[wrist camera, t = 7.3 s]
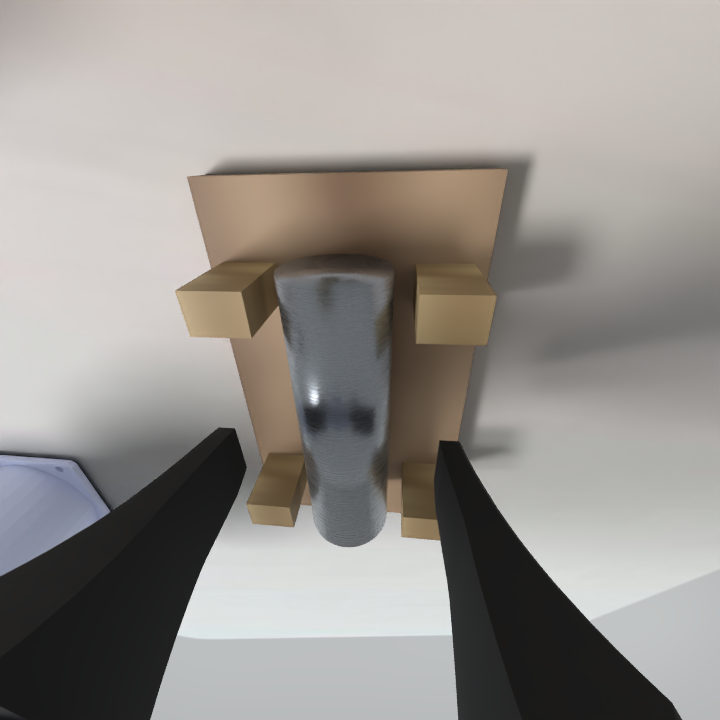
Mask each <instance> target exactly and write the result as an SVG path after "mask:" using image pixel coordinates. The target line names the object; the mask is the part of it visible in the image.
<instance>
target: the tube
mask: <svg viewBox="0 0 720 720" xmlns="http://www.w3.org/2000/svg"><path fill="white" fill-rule="evenodd" d="M274 280H275V286H276V292H277V298H278V304H279V310H280V316H281V322H282V328H283V334H284V340H285V346H286V353H287V359H288V365H289V371H290V377H291V383H292V389H293V395H294V401H295V407H296V413H297V419H298V425H299V431H300V437H301V443H302V449H303V455H304V462H305V468H306V474H307V480H308V486H309V492H310V498H311V504H312V510H313V516H314V522H315V525H316V527H317V530H318V531H319V533H320V534H321V535H322V536H323V537H324V538H325V539H326V540H327V541H329V542H330V543H333V544H335V545H338V546H342V547H356V546H360V545H363V544H365V543H367V542H369V541H371V540H372V539H373V538H375V537H376V536H377V535H378V534H379V532H380V531H381V530H382V528H383V526H384V524H385V521H386V515H387V489H388V457H389V426H390V394H391V362H392V331H393V299H394V266H393V265H392V264H391V263H390V262H388V261H386V260H384V259H381V258H377V257H373V256H368V255H359V254H326V255H316V256H310V257H305V258H300V259H296V260H293V261H290V262H287V263H285V264H283V265H281V266H279V267H278V268H277V269H276V270H275V271H274Z"/></svg>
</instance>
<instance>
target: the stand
mask: <svg viewBox="0 0 720 720" xmlns="http://www.w3.org/2000/svg"><path fill="white" fill-rule="evenodd" d="M507 172H508V169H501V168H492V169H449V170H405V171H362V172H319V173H276V174H232V175H200V176H190V177H187V178H188V182H189V186H190V190H191V194H192V197H193V201H194V205H195V209H196V213H197V216H198V220H199V224H200V228H201V232H202V235H203V239H204V243H205V247H206V251H207V254H208V258H209V262H210V266H211V269H210V270H209V271H207V272H205V273H204V274H202V275H200V276H199V277H197V278H196V279H194V280H192V281H191V282H189V283H187V284H186V285H184V286H182V287H181V288H179V289H177V290H176V291H175V292H176V295H177V298H178V301H179V304H180V307H181V310H182V313H183V316H184V319H185V322H186V325H187V328H188V331H189V334H190V337H215V338H230V341H231V345H232V349H233V353H234V357H235V360H236V364H237V368H238V372H239V376H240V379H241V383H242V387H243V391H244V395H245V398H246V402H247V406H248V410H249V414H250V417H251V421H252V425H253V429H254V432H255V436H256V440H257V444H258V448H259V451H260V455H261V459H262V463H263V467H262V470H261V472H260V474H259V477H258V479H257V481H256V483H255V486H254V488H253V490H252V492H251V495H250V497H249V499H248V501H247V504H246V505H247V508H248V511H249V514H250V517H251V520H252V523H253V524H263V525H274V526H285V527H294V525H295V522H296V518H297V515H298V511H299V508H300V505H312V504H311V498H310V492H309V486H308V480H307V474H306V468H305V462H304V455H303V449H302V443H301V437H300V431H299V425H298V419H297V413H296V407H295V401H294V395H293V389H292V383H291V377H290V371H289V365H288V359H287V353H286V346H285V340H284V334H283V328H282V322H281V316H280V310H279V304H278V298H277V292H276V286H275V280H274V271H275V270H276V269H277V268H278V267H279V266H281V265H283V264H285V263H287V262H290V261H293V260H296V259H300V258H305V257H310V256H316V255H326V254H359V255H368V256H373V257H377V258H381V259H384V260H386V261H388V262H390V263H391V264H392V265H393V266H394V299H393V331H392V362H391V394H390V426H389V457H388V489H387V512H397V513H401V537H408V538H419V539H430V540H440V535H439V529H438V522H437V516H436V509H435V494H434V475H435V468H436V461H437V454H438V447H439V441H440V440H444V441H458V437H459V431H460V426H461V420H462V415H463V410H464V404H465V399H466V393H467V388H468V383H469V377H470V372H471V366H472V361H473V356H474V350H475V345H481V346H487V342H488V337H489V333H490V328H491V323H492V318H493V313H494V308H495V304H496V299H497V295H496V293H495V292H494V290H493V289H492V287H491V286H490V284H489V283H488V282H487V280H488V275H489V269H490V264H491V259H492V253H493V248H494V242H495V237H496V232H497V226H498V221H499V215H500V210H501V205H502V199H503V194H504V188H505V183H506V178H507Z"/></svg>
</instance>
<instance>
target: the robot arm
mask: <svg viewBox="0 0 720 720" xmlns="http://www.w3.org/2000/svg"><path fill="white" fill-rule="evenodd" d="M246 468H247V467H246V463H245V460H244V457H243V454H242V450H241V447H240V444H239V440H238V437H237V434H236V430H235V429H234V428H218V429H217V430H215V431H214V432H213V433H212V434H210V435H209V436H208V437H207V438H205V439H204V440H203V441H202V442H201V443H200V444H198V445H197V446H196V447H195V448H194V449H192V450H191V451H190V452H189V453H188V454H186V455H185V456H184V457H183V458H182V459H180V460H179V461H178V462H177V463H175V464H174V465H173V466H172V467H171V468H169V469H168V470H167V471H166V472H164V473H163V474H162V475H161V476H159V477H158V478H157V479H155V480H154V481H153V482H151V483H150V484H149V485H147V486H146V487H145V488H143V489H142V490H141V491H140V492H138V493H137V494H136V495H134V496H133V497H131V498H130V499H129V500H127V501H126V502H124V503H123V504H122V505H120V506H119V507H117V508H116V509H114V510H113V511H111V512H110V510H109V509H108V507H107V506H106V505H105V503H104V502H103V500H102V499H101V497H100V496H99V495H98V493H97V492H96V490H95V489H94V487H93V486H92V485H91V483H90V482H89V480H88V479H87V477H86V476H85V475H84V473H83V472H82V470H81V469H80V467H79V466H78V465H77V464H76V463H75V462H73V461H71V460H61V459H48V458H34V457H21V456H7V455H0V720H150V718H151V715H152V712H153V708H154V705H155V701H156V698H157V695H158V692H159V688H160V685H161V682H162V678H163V675H164V672H165V669H166V666H167V663H168V660H169V657H170V654H171V651H172V648H173V645H174V642H175V639H176V636H177V633H178V630H179V628H180V625H181V622H182V619H183V617H184V614H185V611H186V608H187V605H188V603H189V600H190V597H191V595H192V592H193V590H194V587H195V584H196V582H197V579H198V577H199V574H200V572H201V569H202V567H203V565H204V563H205V560H206V558H207V556H208V554H209V552H210V550H211V548H212V546H213V544H214V542H215V540H216V538H217V536H218V534H219V532H220V530H221V528H222V526H223V524H224V522H225V520H226V518H227V515H228V513H229V511H230V509H231V507H232V505H233V503H234V501H235V499H236V497H237V494H238V492H239V489H240V486H241V483H242V480H243V477H244V474H245V471H246ZM434 494H435V509H436V516H437V522H438V529H439V535H440V541H441V547H442V553H443V559H444V565H445V571H446V577H447V583H448V591H449V598H450V610H451V622H452V635H453V648H454V661H455V675H456V690H457V706H458V720H682V719H681V717H680V715H679V714H678V712H677V710H676V709H675V707H674V705H673V704H672V702H671V701H670V700H669V699H668V698H667V697H665V696H664V695H663V694H662V693H661V692H660V691H659V690H658V689H657V688H656V687H655V686H654V685H653V684H652V683H651V682H650V681H649V680H648V679H646V678H645V677H644V676H643V675H642V674H641V673H640V672H639V671H638V670H637V669H636V668H635V667H634V666H633V665H632V664H631V663H630V662H629V661H628V660H627V659H626V658H625V657H624V656H623V655H622V654H621V653H620V652H619V651H618V650H617V649H616V648H615V647H614V646H613V645H612V644H611V643H610V642H609V641H608V640H607V639H606V638H605V637H604V636H603V635H602V634H601V633H600V632H599V631H598V630H597V629H596V628H595V627H594V626H593V625H592V624H591V623H590V621H589V620H588V619H587V618H586V617H585V616H584V615H583V614H582V613H581V612H580V610H579V609H578V608H577V607H576V606H575V605H574V604H573V603H572V602H571V600H570V599H569V598H568V597H567V596H566V595H565V594H564V593H563V592H562V591H561V589H560V588H559V587H558V586H557V585H556V584H555V583H554V582H553V580H552V579H551V578H550V577H549V576H548V574H547V573H546V572H545V571H544V570H543V568H542V567H541V566H540V565H539V564H538V562H537V561H536V560H535V559H534V557H533V556H532V555H531V554H530V552H529V551H528V550H527V549H526V547H525V546H524V545H523V543H522V542H521V541H520V539H519V538H518V537H517V535H516V534H515V533H514V531H513V530H512V528H511V527H510V526H509V524H508V523H507V521H506V520H505V518H504V517H503V516H502V514H501V513H500V511H499V510H498V508H497V507H496V505H495V504H494V502H493V500H492V499H491V497H490V496H489V494H488V492H487V491H486V489H485V488H484V486H483V484H482V483H481V481H480V479H479V478H478V476H477V474H476V472H475V471H474V469H473V467H472V465H471V463H470V461H469V460H468V458H467V456H466V454H465V452H464V450H463V447H462V445H461V444H460V443H459V442H458V441H444V440H440V441H439V447H438V454H437V461H436V468H435V475H434Z"/></svg>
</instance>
